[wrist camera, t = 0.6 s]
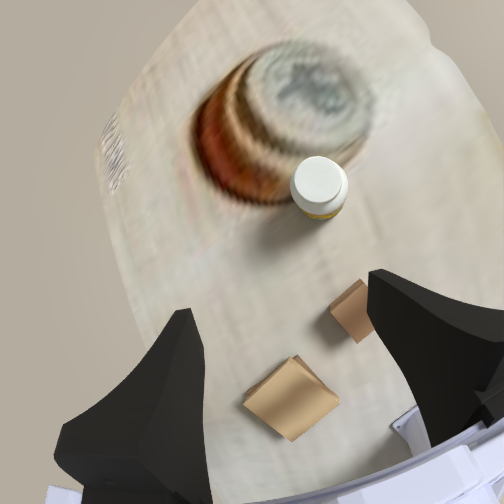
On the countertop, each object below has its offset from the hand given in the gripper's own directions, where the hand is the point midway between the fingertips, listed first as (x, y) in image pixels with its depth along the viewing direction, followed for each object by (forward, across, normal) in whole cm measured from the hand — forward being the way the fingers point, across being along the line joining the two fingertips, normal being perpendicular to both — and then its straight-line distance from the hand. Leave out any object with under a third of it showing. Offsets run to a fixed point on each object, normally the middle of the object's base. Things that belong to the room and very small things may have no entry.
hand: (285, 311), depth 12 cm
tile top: (+13, -1, +24) cm, 27 cm away
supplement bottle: (+22, -9, +3) cm, 24 cm away
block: (+16, -10, +14) cm, 24 cm away
